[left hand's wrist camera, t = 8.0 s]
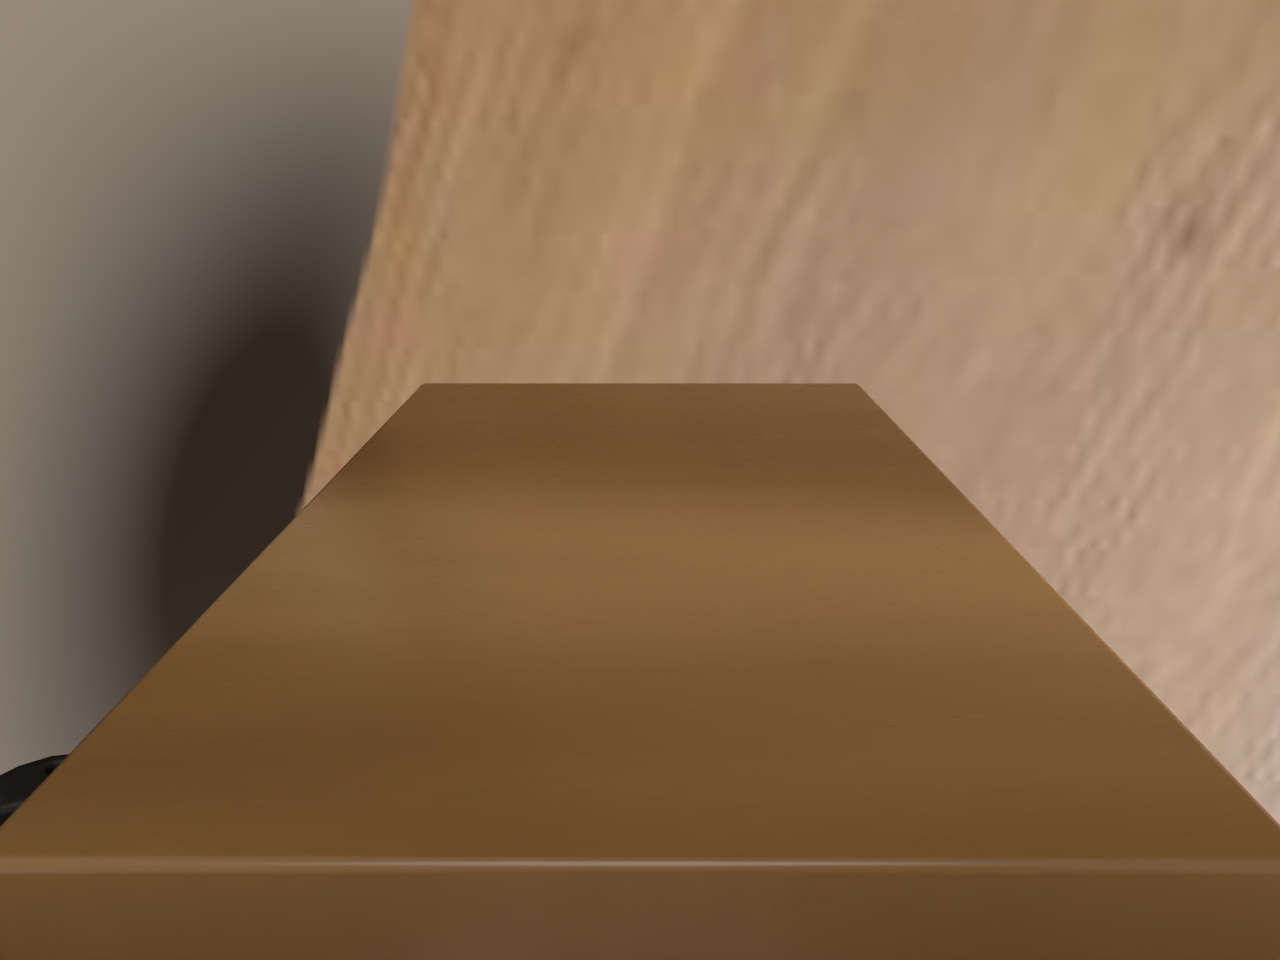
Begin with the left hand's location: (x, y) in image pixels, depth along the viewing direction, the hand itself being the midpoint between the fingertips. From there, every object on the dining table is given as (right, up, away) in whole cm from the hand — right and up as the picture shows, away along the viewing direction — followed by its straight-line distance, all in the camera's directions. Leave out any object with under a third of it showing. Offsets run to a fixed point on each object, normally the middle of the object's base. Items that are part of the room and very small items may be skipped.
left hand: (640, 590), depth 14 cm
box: (0, -8, +5) cm, 10 cm away
